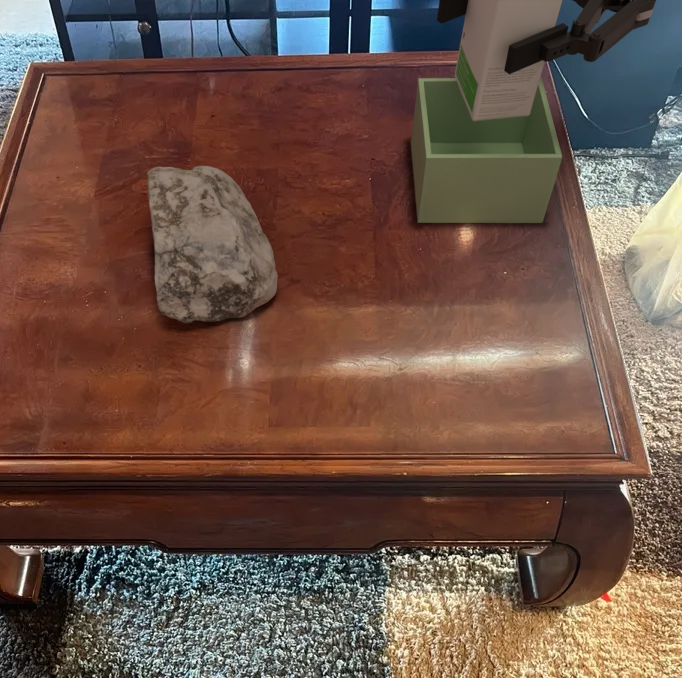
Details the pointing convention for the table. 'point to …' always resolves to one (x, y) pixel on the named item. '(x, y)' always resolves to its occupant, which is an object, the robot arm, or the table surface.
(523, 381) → the table surface
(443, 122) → the bin
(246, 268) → the decorative stone
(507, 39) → the cosmetic box
